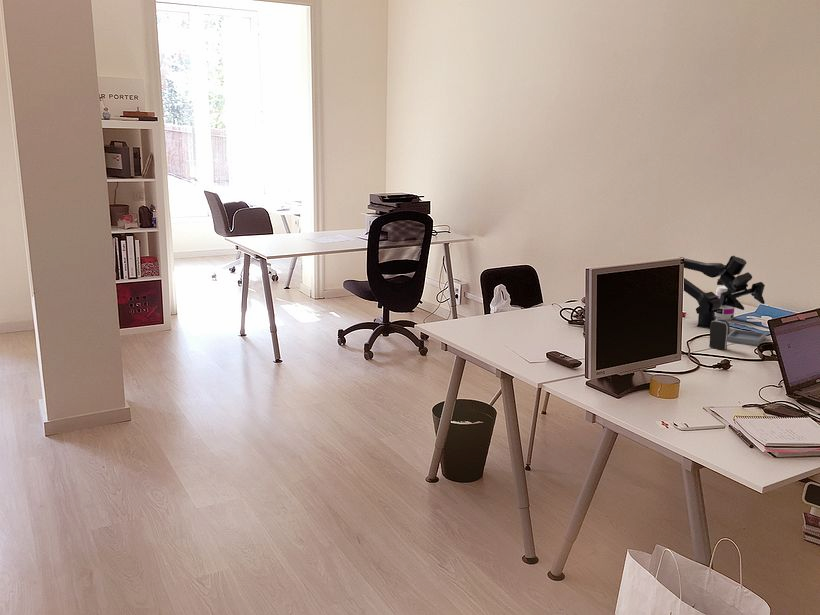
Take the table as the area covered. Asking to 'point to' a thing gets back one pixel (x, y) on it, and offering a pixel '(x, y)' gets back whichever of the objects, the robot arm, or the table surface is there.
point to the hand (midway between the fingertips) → (754, 306)
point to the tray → (746, 337)
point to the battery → (719, 334)
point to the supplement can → (724, 307)
